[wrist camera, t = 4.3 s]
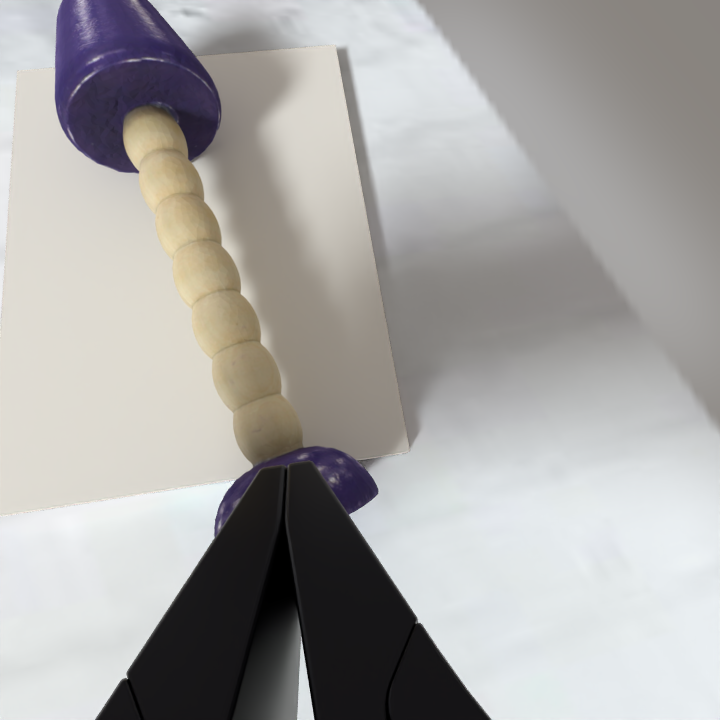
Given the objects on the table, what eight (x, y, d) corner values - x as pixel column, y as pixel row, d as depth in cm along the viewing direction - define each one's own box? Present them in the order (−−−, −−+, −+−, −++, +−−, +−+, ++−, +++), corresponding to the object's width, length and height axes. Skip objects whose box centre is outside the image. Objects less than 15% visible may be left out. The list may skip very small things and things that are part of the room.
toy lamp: (168, 596, 9) (-19, -40, 12) (225, 549, 14) (80, 96, 17) (389, 503, 10) (160, -84, 13) (373, 488, 14) (208, 59, 17)
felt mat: (407, 452, 14) (410, 451, 14) (3, 516, 13) (-12, 517, 13) (335, 58, 19) (335, 44, 18) (27, 84, 18) (17, 70, 17)
